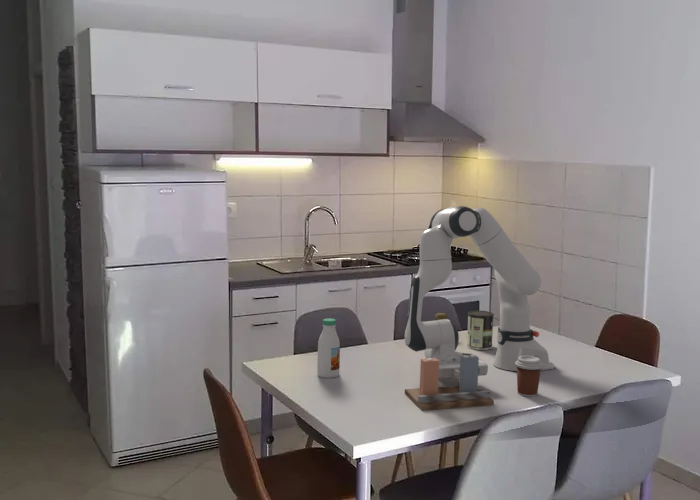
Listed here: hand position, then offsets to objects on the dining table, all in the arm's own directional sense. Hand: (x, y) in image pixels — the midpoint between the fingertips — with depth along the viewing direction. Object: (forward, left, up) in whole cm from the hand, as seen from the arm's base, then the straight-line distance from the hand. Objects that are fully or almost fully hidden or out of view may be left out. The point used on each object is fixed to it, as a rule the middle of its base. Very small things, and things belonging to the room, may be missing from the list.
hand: (466, 376), depth 238 cm
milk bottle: (+39, -30, -7) cm, 50 cm away
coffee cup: (-21, +2, -7) cm, 22 cm away
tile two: (0, +2, -5) cm, 5 cm away
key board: (+7, +2, -7) cm, 10 cm away
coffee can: (-30, -55, -7) cm, 63 cm away
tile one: (+14, +3, -5) cm, 15 cm away
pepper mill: (-19, -70, -7) cm, 73 cm away
